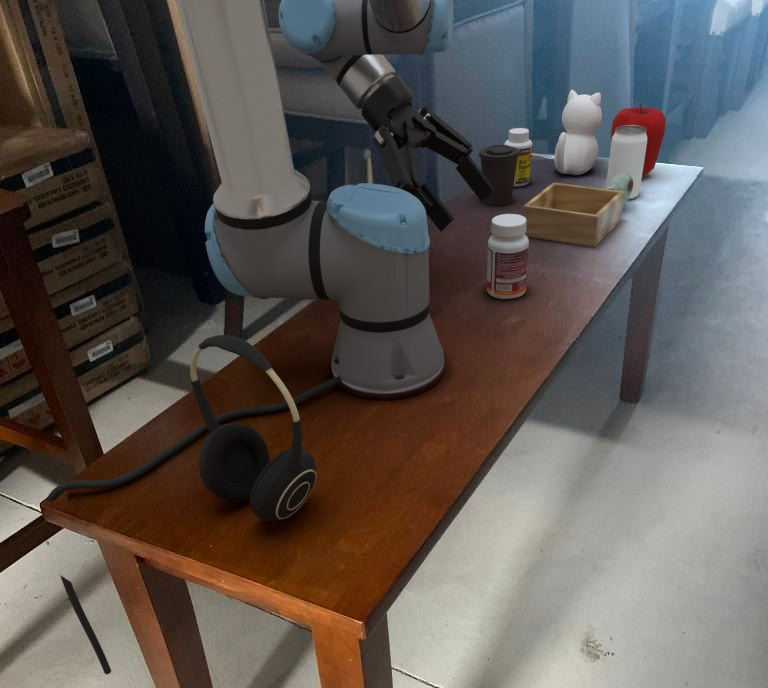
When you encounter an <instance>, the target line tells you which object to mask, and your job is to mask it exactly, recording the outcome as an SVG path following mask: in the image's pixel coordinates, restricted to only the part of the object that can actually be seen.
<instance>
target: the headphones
mask: <svg viewBox="0 0 768 688" xmlns="http://www.w3.org/2000/svg"><path fill="white" fill-rule="evenodd" d="M208 348H219V349H220V350H223V351H225V352H229V353H232V354H236V355H237V356H240V357H242V358H244V359H245V360H247V361H248V362H250V363H251V364H253V365H254V366H256V367H257V368H258V369H260V370H261V371H262V372H263V373H266V374H267V375H268V376H269V377H270V379H271V380H272V382H274V383H275V385H276V387H277V388H278V390H279V391H280V392H281V394H282V396H283V398H284V400H285V401H287V403H288V406H289V408H288V409H289V410H290V414H291V417H292V419H291V427H292V428H291V430H292V431H291V432H292V437H291V438H292V440H291V447H290V448H287V449H284V450H282V451H281V452H279V453H278V454H276V455H275V456H274V457H273V458H272V459H270V458H271V456H270V451H269V448H268V446H267V443H266V441H265V439H264V437H263V436H262V435H261V434H260V433H259V432H258V431H257V430H256V429H255V428H253V427H252V426H250V425H248V424H245V423H240V422H230V423H229V422H228V423H225V424H222V425H220V423H218V421H217V419H216V415H215V413H214V411H213V409H212V407H211V405H210V403H209V401H208V398H207V396H206V395H205V393H204V388H203V386H202V383H201V380H200V378H199V377H198V373H197V364H198V359H199V356H200V354H201V352H202V351H203V350H206V349H208ZM189 370H190V372H189V373H190V379H191V380H190V385H191V387H192V390H193V393H194V394H193V395H194V397H195V400H196V403H197V406H198V410H199V411H200V414H201V416H202V419H203V421H204V423H205V424H206V426H207V428H208V430H207V431H208V433H209V434H208V436H206V438H205V439H204V441H203V443H202V445H201V449H200V452H199V456H198V457H199V458H198V470H199V476H200V478H201V481H202V483H203V485H204V487H205V489H206V490H207V491H208V492H209V493H210V494H211V495H213V496H214V497H215V498H217V499H219V500H221V501H223V502H227V503H235V504H236V503H242V502H246V501H249V508H250V510H251V512H252V514H253V515H254V516H255V517H256V518H258V519H259V520H261V521H263V522H276V521H280V520H285V519H287V518H289V517H291V516H292V515H293V514H295V513H296V512H297V511H298V510H299V509H300V508H301V507H302V506H303V505H304V503H306V501H307V500H308V498H309V497H310V495H311V494H312V492H313V490H314V488H315V485H316V482H317V465H316V460H315V457H314V456H313V454H312V453H310V452H309V451H308V450H306V449H305V448H304V447H303V437H304V436H303V427H302V418H301V417H300V415H299V411H298V409H297V405H295V403H294V401H293V397H292V395H291V393H290V391H289V390H288V388H287V387H286V385H285V383H284V382H283V381H282V380H281V378H280V377H279V376H278V374H277V373H276V371H274V369H273V366H272V364H271V363H270V362H269V361H268V359H266V357H265V356H264V355H263V354H262V352H260V351H259V350H258V349H257V348H256V347H254V346H253V345H252V344H251V343H250V342H248V341H246V340H245V339H242V338H241V337H238V336H234V335H229V334H217V335H214V336H210V337H206V338H205V339H204V340H203V341H201V342H200V343H199V344H198V346H197V349H196V350H195V351H194V353H193V354H192V357H191V361H190V369H189Z"/></svg>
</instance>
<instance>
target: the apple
mask: <svg viewBox="0 0 768 688" xmlns="http://www.w3.org/2000/svg"><path fill="white" fill-rule="evenodd" d="M624 125H637V126H642V127H645V128H646V129H647V130H646V135H647V146H646V152H645V159H644V166H643V172H642V178H643V177H645V176H646V175H648V174H649V173H650V172H651V171H653V170H654V169H655V167H656V164H657V160H658V157H659V154H660V152H661V151H660V150H661V147H662V144H663V140H664V138H665V133H666V126H667V118H666V116H665V114H664V112H663V111H662V110H660V109H657V108H654V107H645V106H643V107H642V103H640V104H639V106H638V107H627V108H622V109H621V110H619V111H618V112H617V114H616V115H615V117H614V118H613V119H612V125H611V130H610V143H611V142H612V137H613V135H614V133H615V129H616V128H617V127H619V126H624Z"/></svg>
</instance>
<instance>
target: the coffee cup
mask: <svg viewBox="0 0 768 688" xmlns="http://www.w3.org/2000/svg"><path fill="white" fill-rule="evenodd" d="M520 154H521V152H520V151H519V149H518V148H515V147H511V146H508V145H504V144H494V145H490V146H487V147H484V148H482V149H479V152H478V153H477V156H478V158H480V168H481V169H480V171H481V172H482V173H483V174H484V176H485V177H486V178H487V180H488V181H489V182H490V184H491V185H492V186H493V188H494V189H495V190H494V191H493V192H492V193H491V194H490V195H488V196H487V197H486V198H485V199H484V200H483V202H484V204H485V205H488V206H492V207H493V206H494V207H499V206H501V207H502V206H506V205H509V204H511V203H512V200H513V199H512V198H513V192H514V187H513V186H514V180H515V173H516V167H517V160H518V156H520Z"/></svg>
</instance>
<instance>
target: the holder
mask: <svg viewBox="0 0 768 688" xmlns="http://www.w3.org/2000/svg"><path fill="white" fill-rule="evenodd" d="M624 194H625V191H618V190H610V189H606V188H602V187H601V188H600V187H594V186H586V185H577V184H570V183H569V184H568V183H561V182H552V183H550V184H549V185H548V186H547V187H546V188H544V189H542V191H540V192H539V193H538V194H537V195H535V196H534V197H533V198H532V199H530V200H529V201H528V202H526V203H525V204H524V205H523V206H522V216H523V217H525V218H526V233H525V235H526V236H527V237H528V238H534V239H540V240H545V241H546V240H547V241H553V242H558V243H564V244H570V245H578V246H582V247H588V248H589V247H590V248H596V247H597V245H598V244H600V243H601V241H603V239H604V238H606V237H607V236H608V234H609V233H610V232H611V231H612V230H614V229H615V227H617V225H618V224H620V222H621V221H622V216H623V215H622V214H623V208H624V205H623V201H624Z"/></svg>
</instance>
